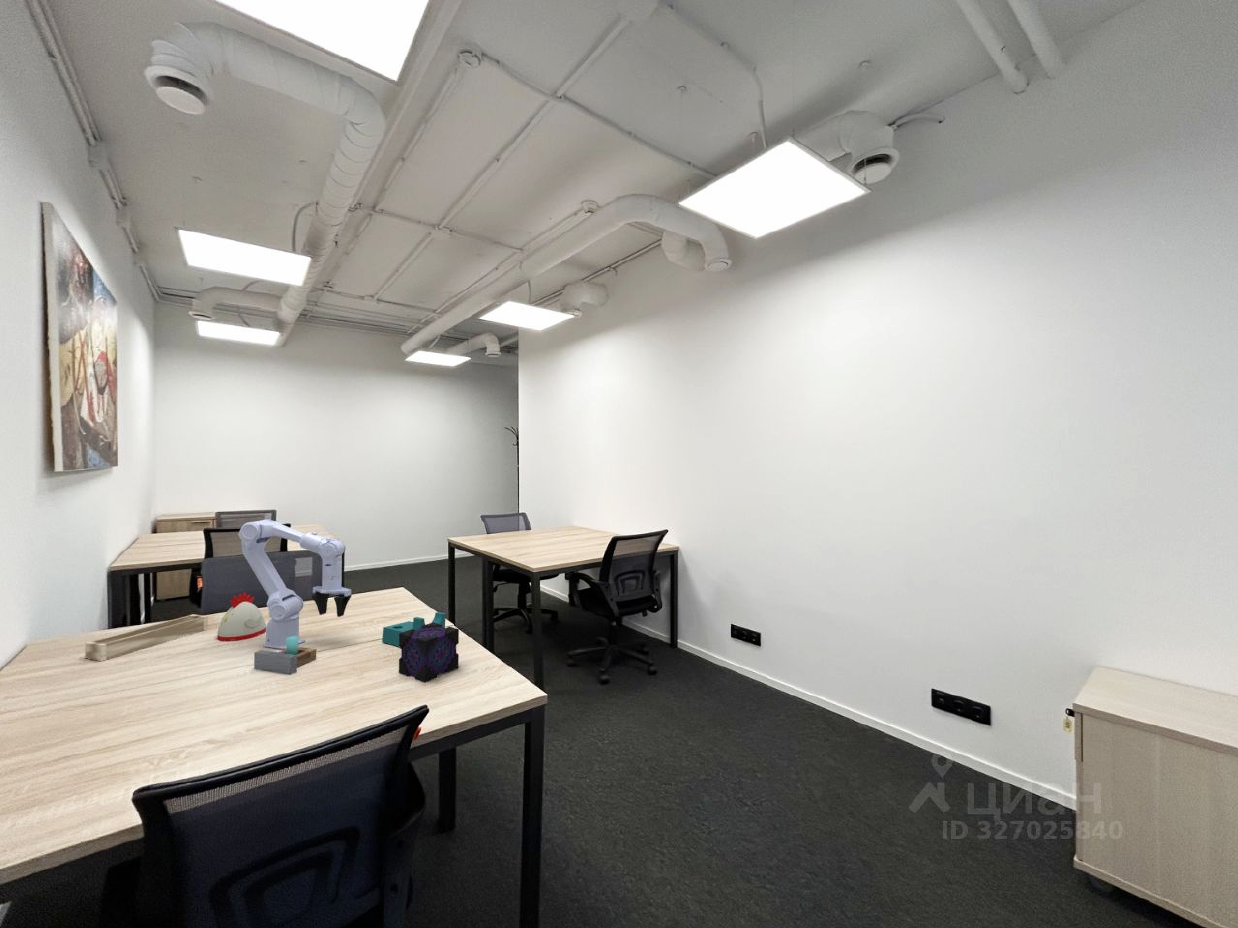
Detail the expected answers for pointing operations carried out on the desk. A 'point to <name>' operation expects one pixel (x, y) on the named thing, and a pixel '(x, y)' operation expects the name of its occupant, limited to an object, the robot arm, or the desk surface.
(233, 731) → the desk surface
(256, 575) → the robot arm
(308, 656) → the socket block
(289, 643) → the dowel
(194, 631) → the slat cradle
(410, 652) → the energy cube
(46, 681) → the desk surface
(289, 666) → the wall
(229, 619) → the kitchen timer
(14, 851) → the desk surface
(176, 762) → the desk surface
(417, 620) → the teal l-shaped bracket
